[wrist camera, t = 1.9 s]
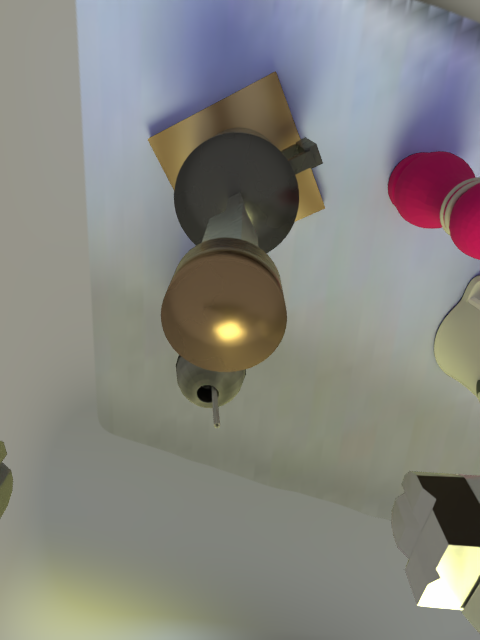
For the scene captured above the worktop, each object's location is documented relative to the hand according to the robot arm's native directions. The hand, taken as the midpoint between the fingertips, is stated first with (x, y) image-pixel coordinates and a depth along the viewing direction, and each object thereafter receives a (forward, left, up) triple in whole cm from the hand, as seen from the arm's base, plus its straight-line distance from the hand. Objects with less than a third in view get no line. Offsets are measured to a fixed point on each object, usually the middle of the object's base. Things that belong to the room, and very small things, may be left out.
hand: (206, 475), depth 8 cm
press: (-1, 0, -39) cm, 39 cm away
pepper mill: (-17, +9, -41) cm, 45 cm away
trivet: (0, 0, -41) cm, 41 cm away
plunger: (0, 0, -19) cm, 19 cm away
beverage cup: (+10, +15, -41) cm, 45 cm away
